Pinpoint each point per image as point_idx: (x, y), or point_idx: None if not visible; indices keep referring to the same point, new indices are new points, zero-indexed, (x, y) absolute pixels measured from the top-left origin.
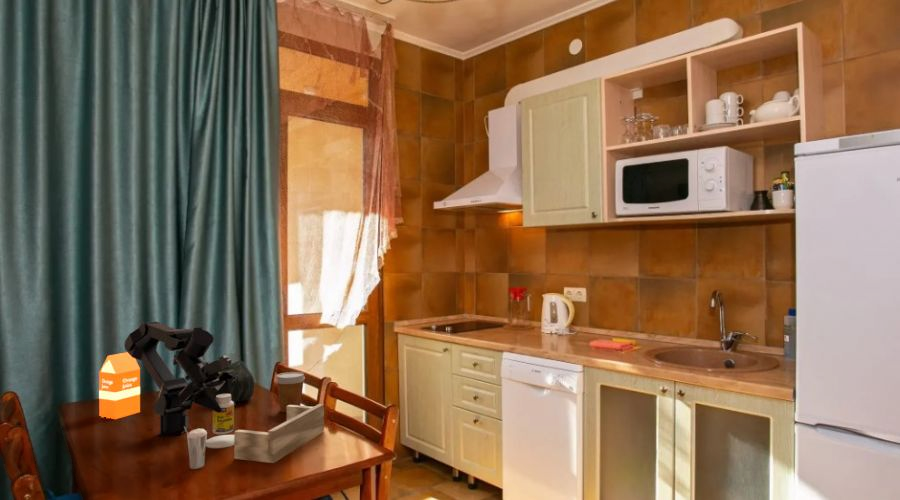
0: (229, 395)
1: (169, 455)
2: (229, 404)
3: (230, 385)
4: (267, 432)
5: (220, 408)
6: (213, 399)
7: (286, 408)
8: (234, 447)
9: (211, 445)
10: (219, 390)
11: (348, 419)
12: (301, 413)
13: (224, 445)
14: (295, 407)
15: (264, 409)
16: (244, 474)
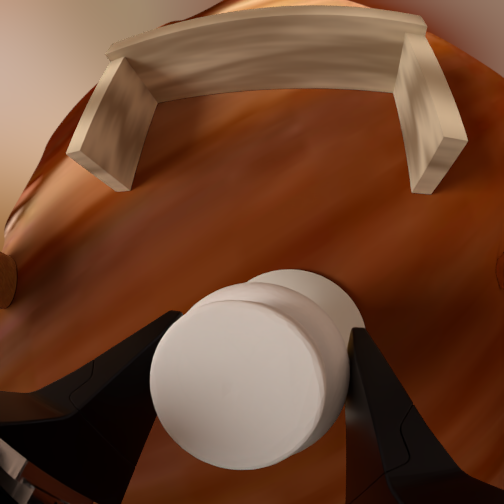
0: (218, 312)
1: (448, 444)
2: (285, 289)
3: (26, 397)
4: (410, 41)
5: (358, 336)
6: (401, 414)
7: (7, 278)
8: (444, 175)
9: None
10: (97, 490)
11: (76, 107)
12: (212, 22)
13: (344, 306)
14: (94, 117)
15: (3, 360)
16: (484, 118)
